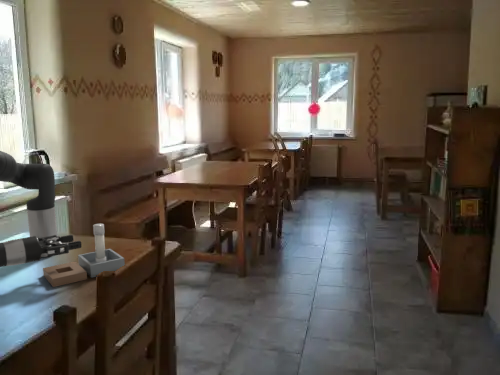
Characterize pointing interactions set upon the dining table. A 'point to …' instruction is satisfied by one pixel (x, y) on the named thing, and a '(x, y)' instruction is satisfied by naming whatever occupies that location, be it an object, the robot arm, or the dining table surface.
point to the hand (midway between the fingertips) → (76, 240)
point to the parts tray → (93, 268)
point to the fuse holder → (64, 274)
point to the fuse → (99, 242)
